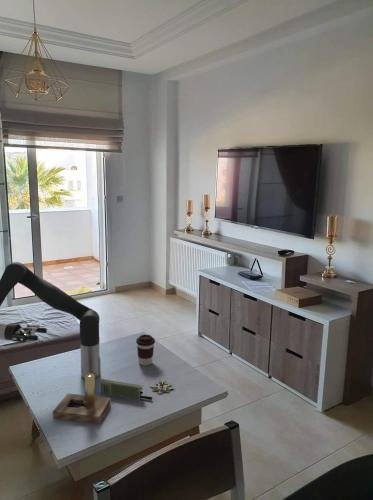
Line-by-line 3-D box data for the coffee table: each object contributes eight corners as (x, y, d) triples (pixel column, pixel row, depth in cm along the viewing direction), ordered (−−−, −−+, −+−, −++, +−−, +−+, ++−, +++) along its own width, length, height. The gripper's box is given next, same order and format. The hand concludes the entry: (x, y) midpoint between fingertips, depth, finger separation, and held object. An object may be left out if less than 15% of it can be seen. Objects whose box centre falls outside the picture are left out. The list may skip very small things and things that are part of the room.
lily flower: (145, 387, 195) (145, 378, 194) (165, 380, 202) (165, 371, 201) (158, 398, 185) (158, 389, 184) (179, 390, 192) (179, 382, 192)
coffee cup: (144, 356, 225) (144, 331, 222) (158, 362, 220) (158, 336, 217) (132, 363, 217) (132, 337, 215) (146, 368, 212) (146, 342, 209)
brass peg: (94, 408, 175) (94, 372, 172) (96, 414, 171) (95, 377, 168) (84, 410, 173) (83, 374, 170) (85, 416, 169) (85, 379, 166)
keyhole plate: (53, 418, 167) (52, 411, 166) (67, 399, 181) (67, 393, 180) (99, 423, 164) (99, 416, 164) (110, 404, 178) (110, 398, 177)
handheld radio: (103, 390, 190) (153, 399, 184) (100, 394, 187) (150, 403, 181) (102, 377, 189) (153, 386, 183) (99, 381, 185) (150, 389, 180)
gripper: (-2, 329, 174) (34, 332, 173) (15, 318, 188) (48, 320, 187) (-1, 346, 176) (34, 348, 174) (16, 333, 190) (49, 335, 188)
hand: (42, 334), depth 180 cm, fingers open, 8 cm apart
